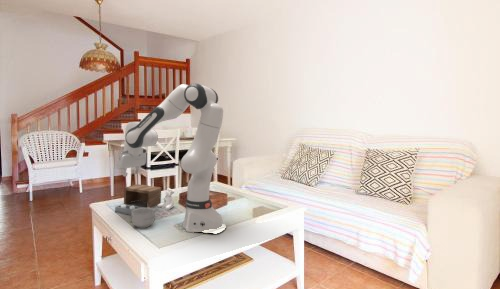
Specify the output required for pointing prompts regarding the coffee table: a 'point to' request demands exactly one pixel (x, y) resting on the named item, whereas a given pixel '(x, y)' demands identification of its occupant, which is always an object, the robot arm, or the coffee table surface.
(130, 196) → the wooden plank crate
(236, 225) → the coffee table surface
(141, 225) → the teacup
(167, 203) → the seated beast figurine
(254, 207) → the coffee table surface
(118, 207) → the tray
